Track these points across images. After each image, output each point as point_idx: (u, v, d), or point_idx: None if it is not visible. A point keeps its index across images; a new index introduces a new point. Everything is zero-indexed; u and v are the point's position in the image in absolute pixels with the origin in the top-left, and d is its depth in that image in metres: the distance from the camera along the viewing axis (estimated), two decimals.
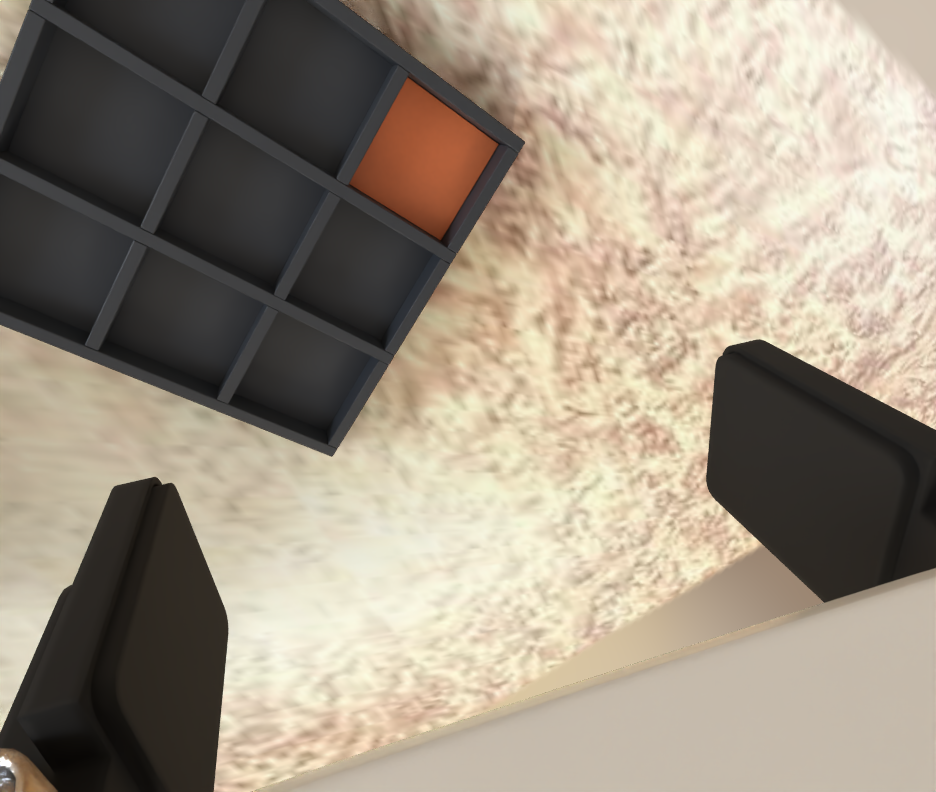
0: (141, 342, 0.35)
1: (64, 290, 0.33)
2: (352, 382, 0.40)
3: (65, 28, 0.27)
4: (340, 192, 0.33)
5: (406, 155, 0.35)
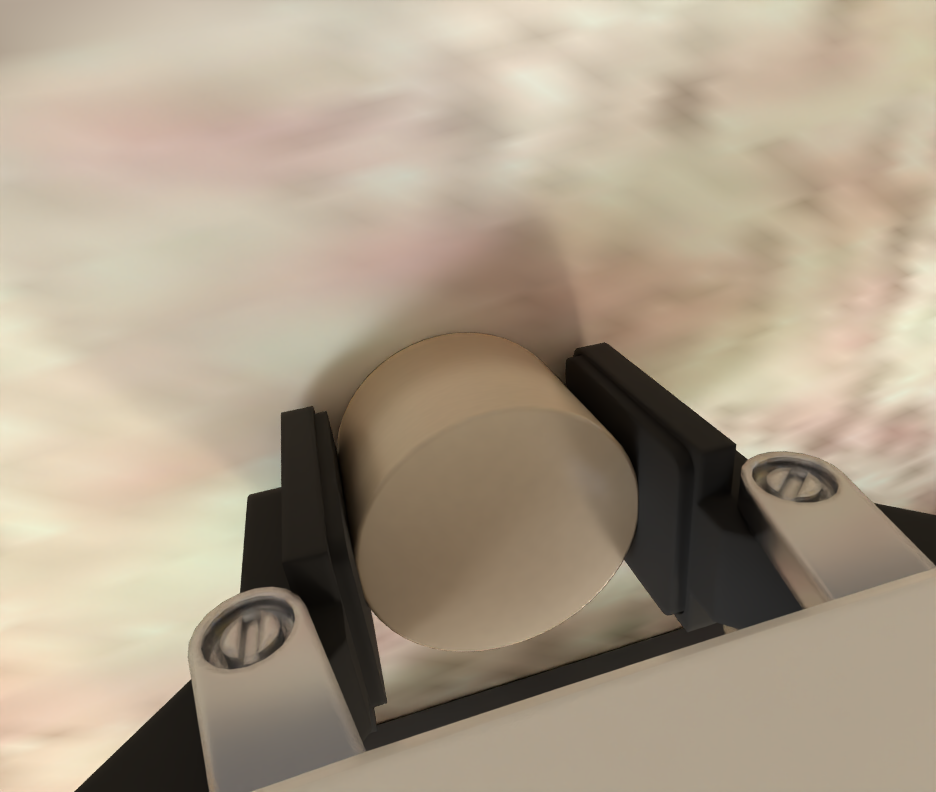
0: None
1: None
2: None
3: None
4: None
5: None
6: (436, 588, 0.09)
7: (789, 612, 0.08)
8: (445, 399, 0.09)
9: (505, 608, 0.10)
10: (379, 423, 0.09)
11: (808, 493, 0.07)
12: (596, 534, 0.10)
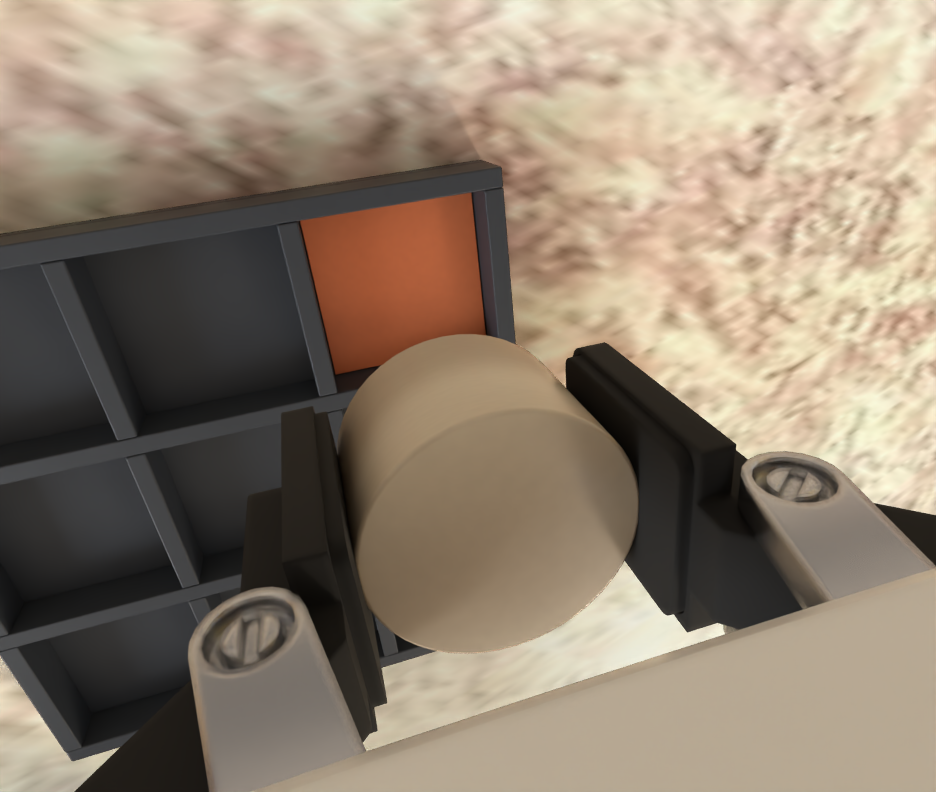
0: None
1: (179, 659, 0.29)
2: None
3: None
4: (335, 405, 0.24)
5: (375, 294, 0.24)
6: (436, 591, 0.09)
7: (789, 612, 0.08)
8: (444, 401, 0.09)
9: (505, 610, 0.10)
10: (379, 425, 0.09)
11: (808, 494, 0.07)
12: (597, 536, 0.10)
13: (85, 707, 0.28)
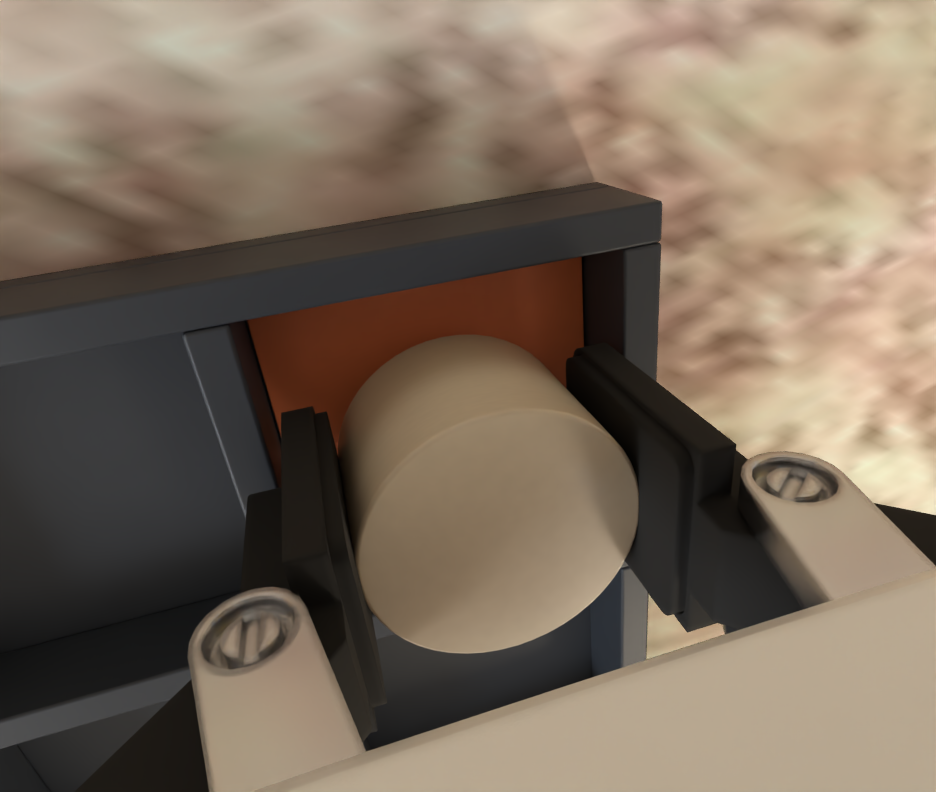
0: None
1: None
2: None
3: None
4: None
5: None
6: (436, 590, 0.09)
7: (789, 612, 0.08)
8: (445, 401, 0.09)
9: (505, 610, 0.10)
10: (380, 425, 0.09)
11: (808, 494, 0.07)
12: (597, 536, 0.10)
13: None
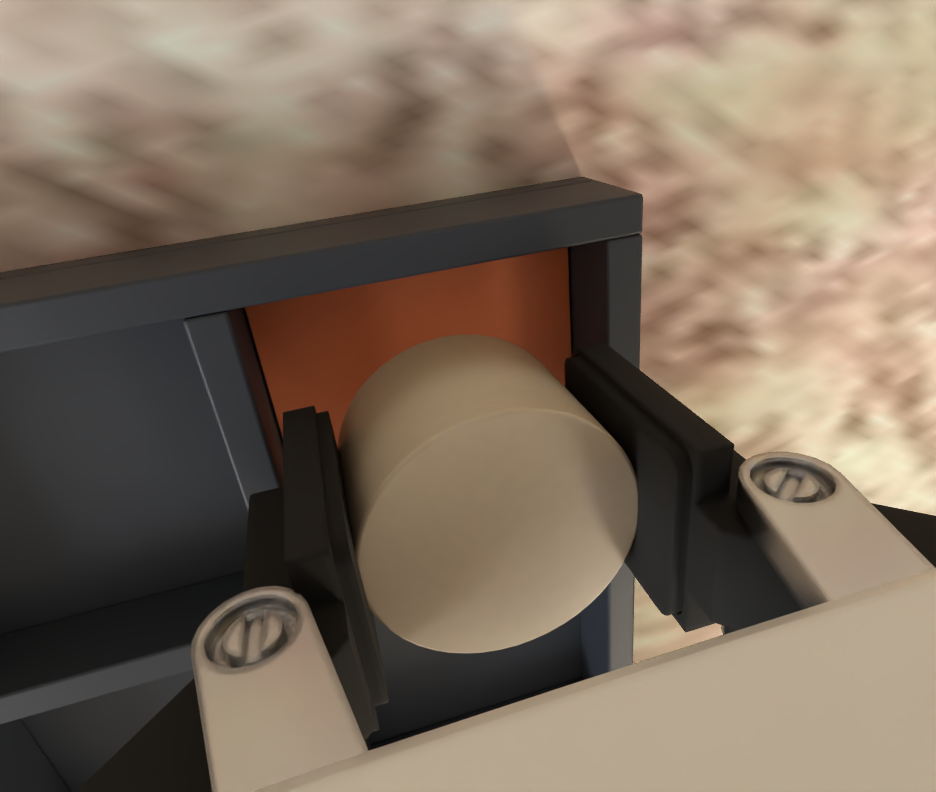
0: None
1: None
2: None
3: None
4: None
5: None
6: (436, 590, 0.09)
7: (787, 612, 0.08)
8: (445, 401, 0.09)
9: (505, 610, 0.10)
10: (380, 425, 0.09)
11: (804, 494, 0.07)
12: (597, 536, 0.10)
13: None
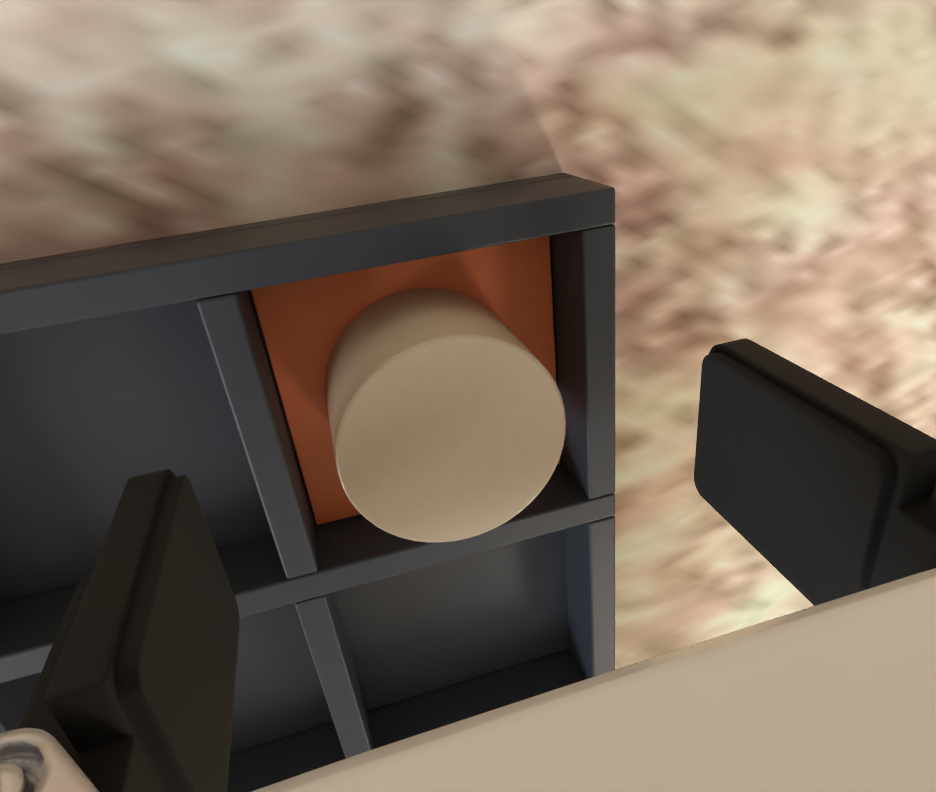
0: None
1: None
2: None
3: None
4: (315, 590, 0.14)
5: None
6: (401, 485, 0.12)
7: None
8: (406, 331, 0.11)
9: (458, 505, 0.12)
10: (357, 353, 0.12)
11: None
12: (531, 445, 0.12)
13: None
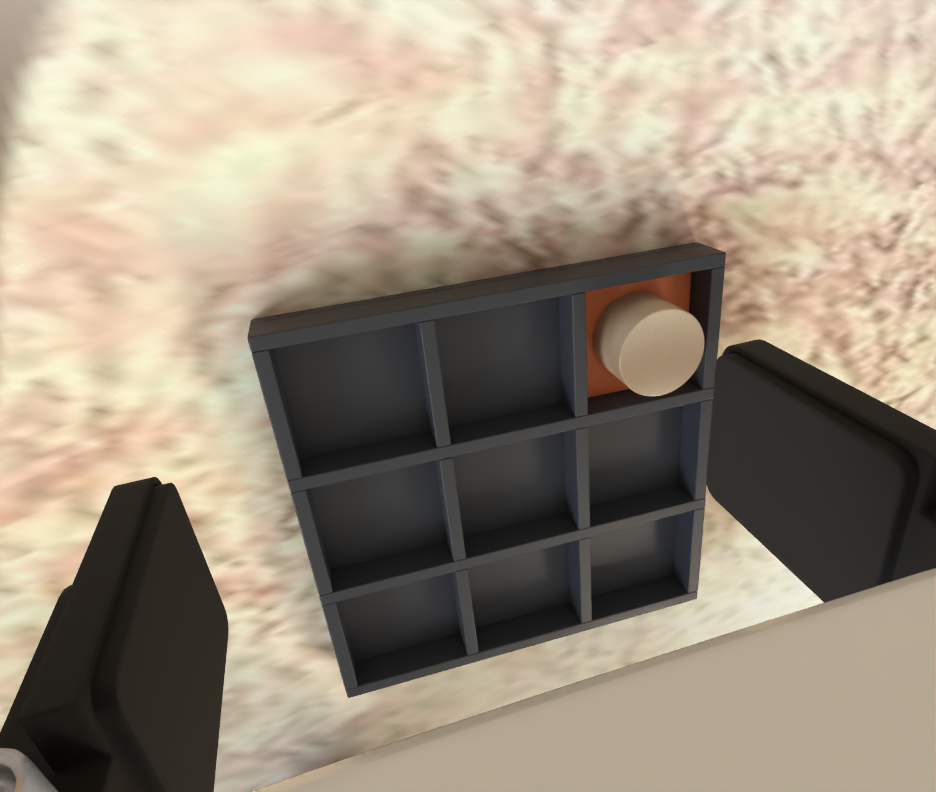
0: (496, 614, 0.38)
1: (423, 621, 0.37)
2: (672, 528, 0.39)
3: (321, 485, 0.29)
4: (585, 423, 0.32)
5: None
6: (640, 368, 0.29)
7: None
8: (646, 307, 0.29)
9: (659, 379, 0.30)
10: (623, 316, 0.29)
11: None
12: (690, 354, 0.30)
13: (353, 656, 0.36)
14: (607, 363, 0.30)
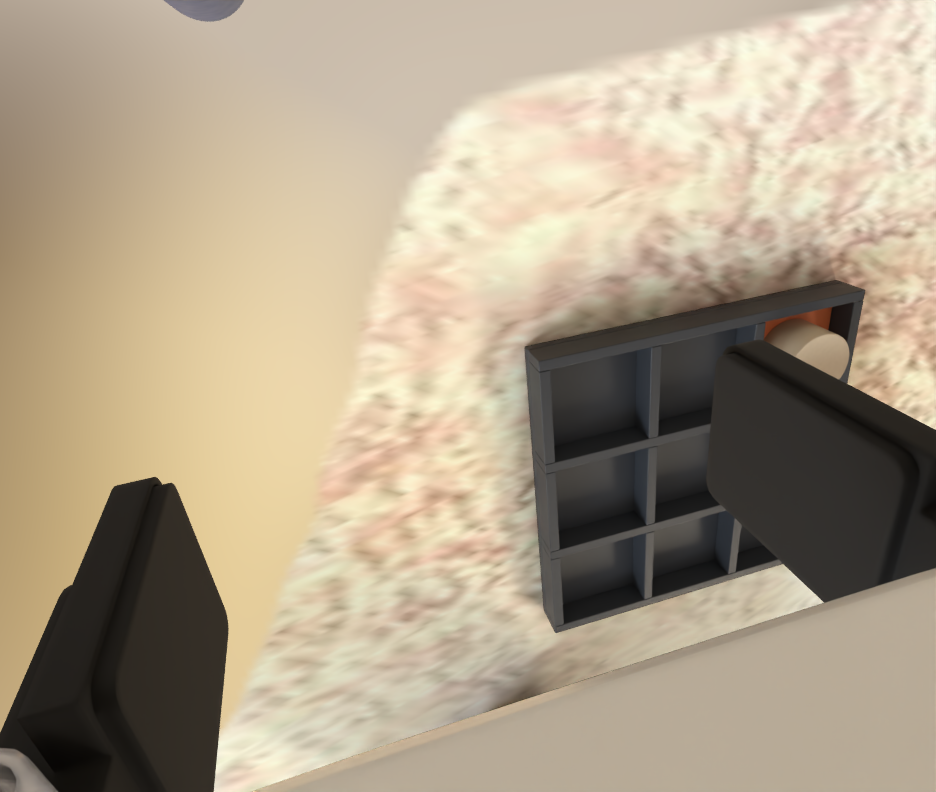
0: (659, 568, 0.48)
1: (607, 574, 0.47)
2: None
3: (567, 467, 0.39)
4: None
5: None
6: None
7: None
8: (809, 332, 0.39)
9: None
10: (789, 339, 0.39)
11: None
12: (838, 366, 0.40)
13: None
14: None
